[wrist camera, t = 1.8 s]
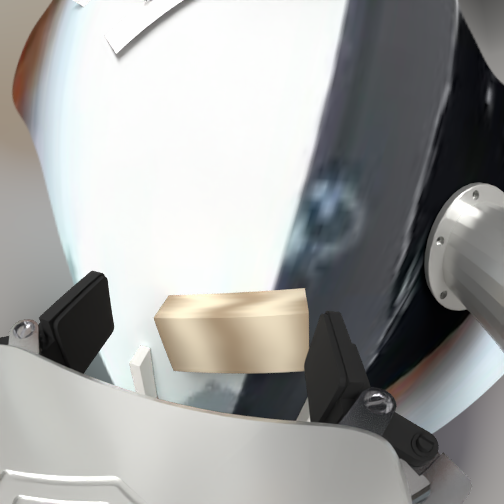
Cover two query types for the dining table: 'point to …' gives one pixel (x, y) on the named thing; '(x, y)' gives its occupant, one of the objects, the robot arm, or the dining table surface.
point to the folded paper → (135, 21)
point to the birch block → (236, 331)
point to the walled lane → (146, 382)
